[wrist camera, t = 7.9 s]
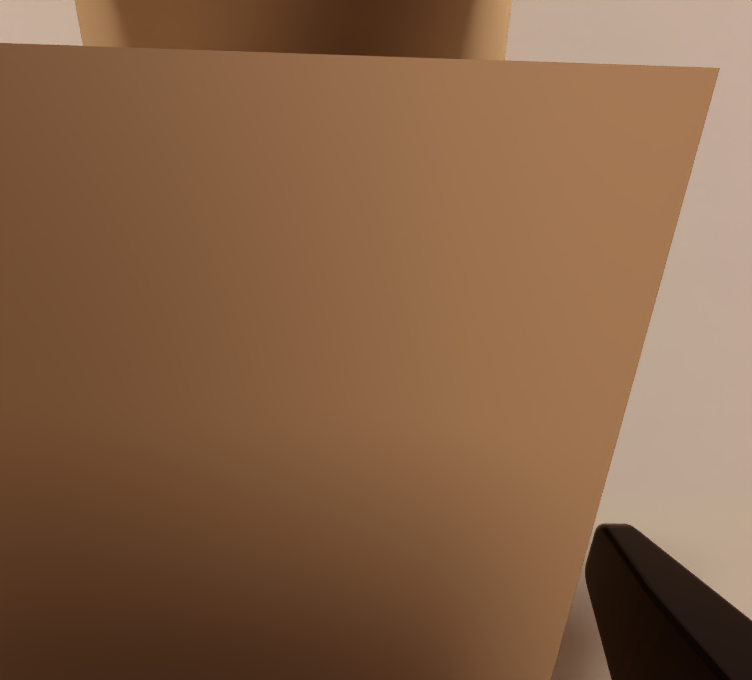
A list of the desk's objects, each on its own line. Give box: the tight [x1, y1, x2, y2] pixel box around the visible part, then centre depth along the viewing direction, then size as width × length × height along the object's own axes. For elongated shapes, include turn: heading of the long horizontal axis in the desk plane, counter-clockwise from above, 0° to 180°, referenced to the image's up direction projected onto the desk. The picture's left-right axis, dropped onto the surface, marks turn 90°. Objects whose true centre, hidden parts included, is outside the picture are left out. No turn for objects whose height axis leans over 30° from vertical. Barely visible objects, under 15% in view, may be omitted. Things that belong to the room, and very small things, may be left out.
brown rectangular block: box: [0, 43, 720, 680], centre depth 8 cm, size 5×12×6 cm, turn 178°
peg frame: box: [75, 0, 512, 61], centre depth 10 cm, size 7×19×6 cm, turn 178°
